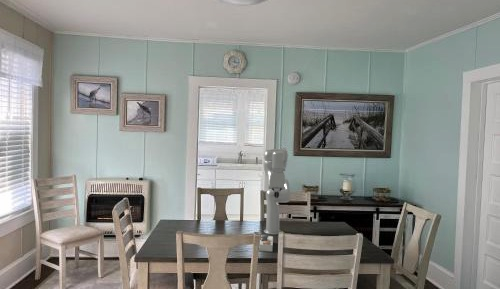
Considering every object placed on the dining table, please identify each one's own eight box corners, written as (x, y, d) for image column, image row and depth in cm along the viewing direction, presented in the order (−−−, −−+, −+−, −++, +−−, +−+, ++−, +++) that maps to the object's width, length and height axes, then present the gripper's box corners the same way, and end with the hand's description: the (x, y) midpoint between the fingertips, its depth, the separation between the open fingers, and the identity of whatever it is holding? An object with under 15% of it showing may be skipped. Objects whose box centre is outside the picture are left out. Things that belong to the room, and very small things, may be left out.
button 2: (263, 245, 239) (263, 240, 239) (270, 246, 239) (270, 241, 239) (263, 247, 235) (263, 242, 235) (269, 248, 235) (270, 242, 235)
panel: (257, 241, 253) (257, 235, 253) (272, 242, 253) (272, 236, 252) (256, 250, 234) (256, 244, 234) (272, 251, 234) (272, 245, 234)
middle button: (261, 239, 246) (262, 234, 245) (268, 239, 245) (268, 234, 245) (261, 241, 242) (261, 236, 241) (267, 241, 241) (268, 236, 241)
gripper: (288, 170, 257) (287, 197, 258) (266, 169, 258) (265, 196, 259) (288, 171, 250) (287, 199, 251) (266, 170, 251) (265, 198, 252)
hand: (276, 197), depth 255 cm, fingers closed
